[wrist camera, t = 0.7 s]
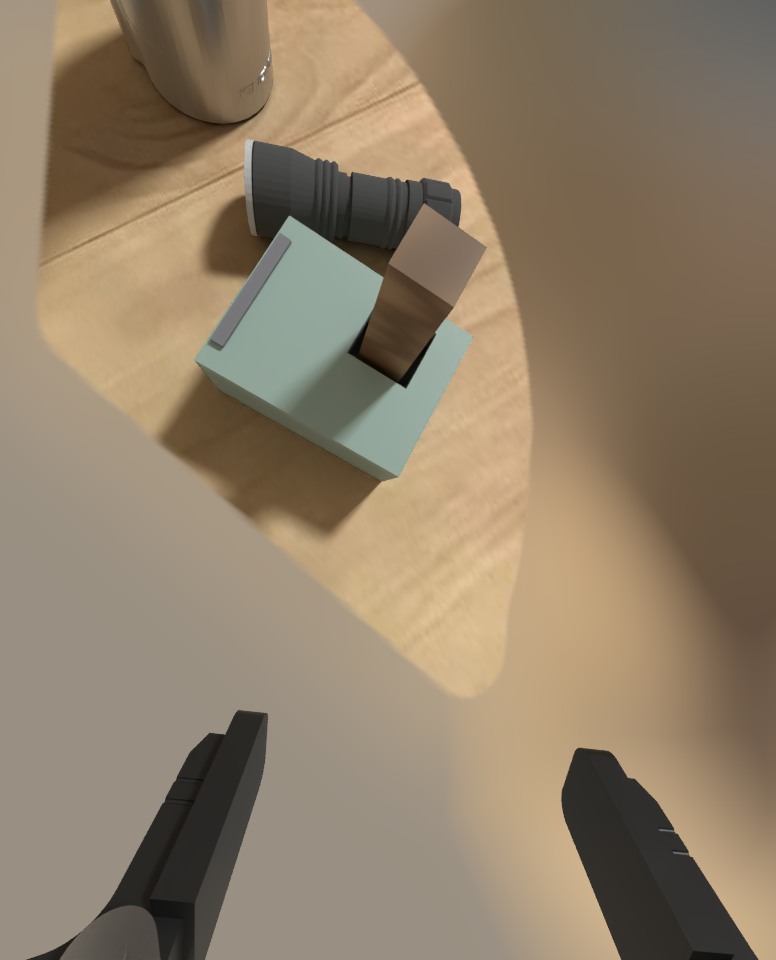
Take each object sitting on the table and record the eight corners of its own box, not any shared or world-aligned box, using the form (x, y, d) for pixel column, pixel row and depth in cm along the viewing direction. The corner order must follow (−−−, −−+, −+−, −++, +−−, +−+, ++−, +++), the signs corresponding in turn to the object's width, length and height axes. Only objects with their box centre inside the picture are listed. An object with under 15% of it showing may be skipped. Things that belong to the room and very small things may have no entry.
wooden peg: (351, 375, 29) (388, 263, 15) (371, 341, 30) (424, 203, 16) (387, 397, 30) (453, 307, 16) (406, 363, 30) (486, 247, 16)
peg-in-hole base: (218, 389, 28) (192, 357, 22) (293, 272, 30) (288, 211, 23) (381, 481, 30) (399, 476, 24) (443, 367, 32) (475, 334, 26)
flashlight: (442, 217, 33) (468, 163, 27) (442, 277, 32) (468, 234, 27) (256, 184, 30) (245, 116, 24) (253, 251, 29) (242, 196, 24)
